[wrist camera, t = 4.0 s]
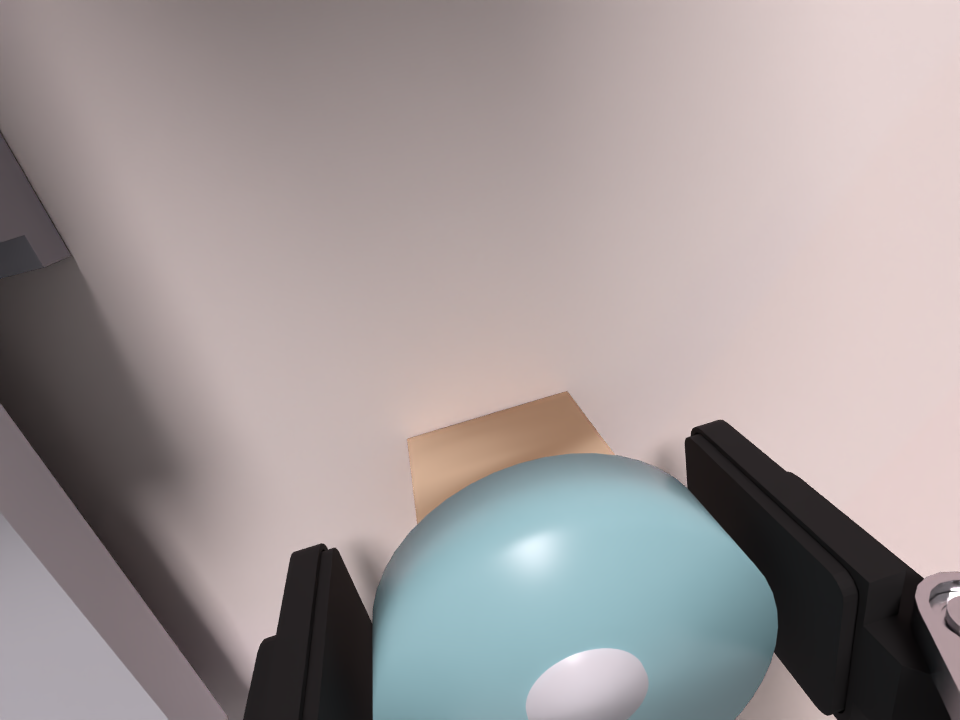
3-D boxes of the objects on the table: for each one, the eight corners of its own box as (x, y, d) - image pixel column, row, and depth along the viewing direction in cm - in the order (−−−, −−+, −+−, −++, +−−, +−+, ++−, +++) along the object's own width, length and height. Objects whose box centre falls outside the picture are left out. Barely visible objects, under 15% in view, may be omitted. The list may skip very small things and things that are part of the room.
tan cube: (567, 391, 12) (641, 490, 8) (588, 515, 13) (657, 638, 10) (407, 439, 11) (421, 559, 8) (448, 559, 13) (473, 701, 10)
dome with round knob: (708, 405, 8) (789, 471, 6) (718, 657, 11) (777, 748, 9) (317, 525, 7) (303, 627, 6) (428, 758, 10) (438, 871, 9)
